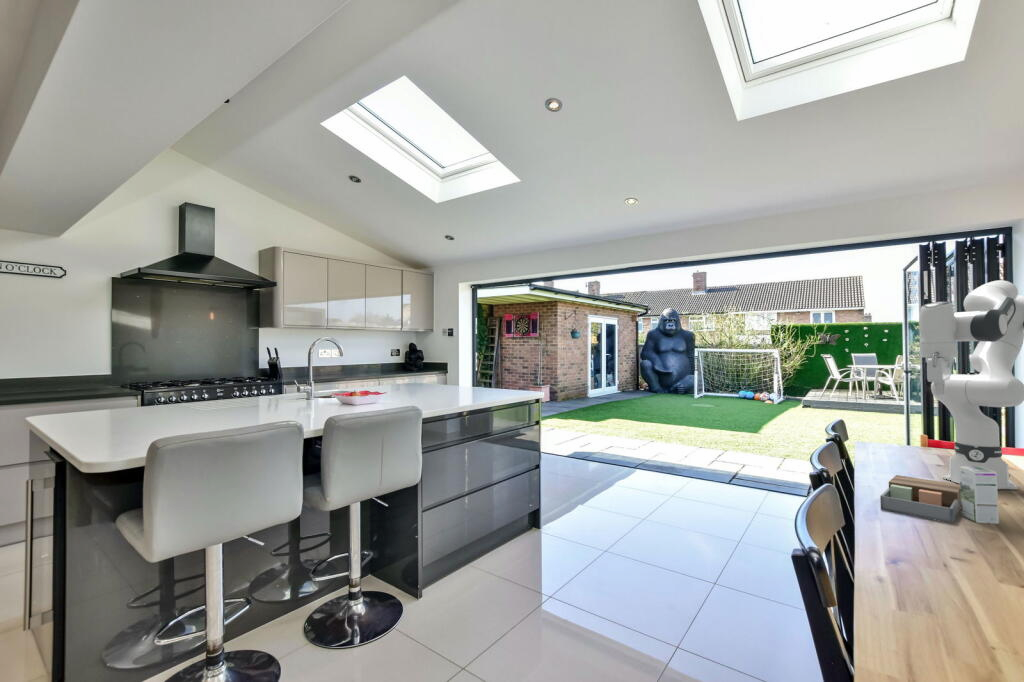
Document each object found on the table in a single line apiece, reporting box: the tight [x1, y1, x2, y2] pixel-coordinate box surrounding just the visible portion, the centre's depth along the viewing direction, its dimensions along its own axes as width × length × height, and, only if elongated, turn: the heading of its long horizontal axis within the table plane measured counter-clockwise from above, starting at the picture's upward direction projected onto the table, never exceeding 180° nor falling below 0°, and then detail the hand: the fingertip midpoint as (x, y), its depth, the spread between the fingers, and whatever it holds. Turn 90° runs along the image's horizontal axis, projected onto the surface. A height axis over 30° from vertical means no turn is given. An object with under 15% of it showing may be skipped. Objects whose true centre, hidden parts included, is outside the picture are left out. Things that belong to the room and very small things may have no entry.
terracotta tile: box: [919, 489, 942, 506], centre depth 140 cm, size 5×5×2 cm
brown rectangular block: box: [888, 474, 961, 513], centre depth 147 cm, size 12×16×6 cm
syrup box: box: [959, 466, 1000, 525], centre depth 132 cm, size 6×6×14 cm
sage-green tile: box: [890, 484, 913, 501], centre depth 146 cm, size 5×5×2 cm
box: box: [880, 487, 959, 524], centre depth 139 cm, size 12×16×4 cm
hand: (939, 394), depth 151 cm, fingers closed
